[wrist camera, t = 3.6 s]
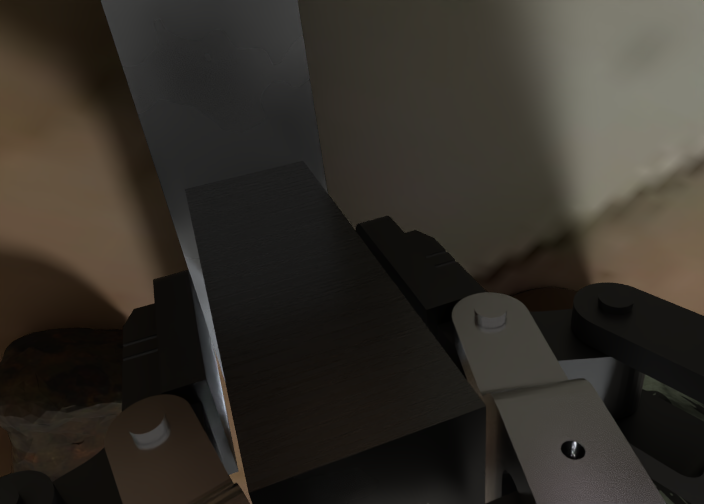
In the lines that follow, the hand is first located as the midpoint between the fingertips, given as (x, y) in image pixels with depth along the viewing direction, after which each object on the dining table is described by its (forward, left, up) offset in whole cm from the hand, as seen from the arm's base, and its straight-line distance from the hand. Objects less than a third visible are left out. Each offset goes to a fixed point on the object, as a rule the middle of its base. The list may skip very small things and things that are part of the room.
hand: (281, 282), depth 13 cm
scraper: (0, 0, -6) cm, 6 cm away
